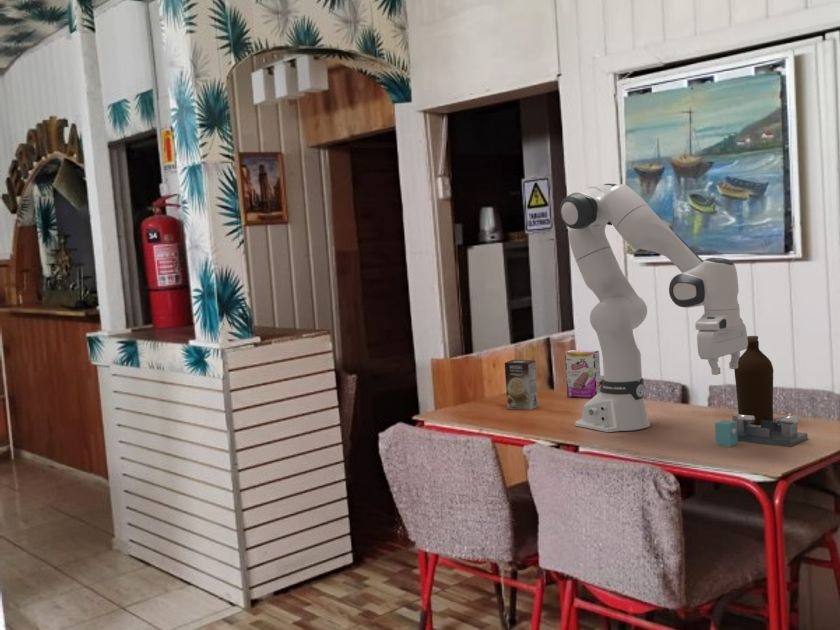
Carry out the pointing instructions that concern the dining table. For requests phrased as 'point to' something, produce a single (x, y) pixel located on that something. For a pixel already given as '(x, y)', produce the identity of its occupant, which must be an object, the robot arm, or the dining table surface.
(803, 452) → the dining table surface
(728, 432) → the coupler
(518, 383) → the coffee box
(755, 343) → the olive oil
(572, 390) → the candy bar box
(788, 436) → the shaft rig
